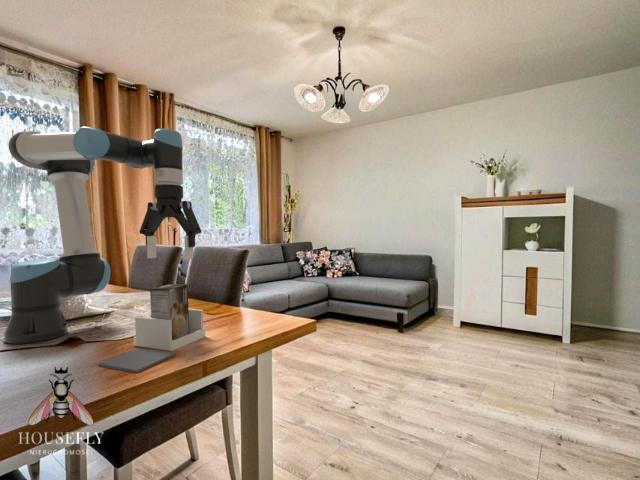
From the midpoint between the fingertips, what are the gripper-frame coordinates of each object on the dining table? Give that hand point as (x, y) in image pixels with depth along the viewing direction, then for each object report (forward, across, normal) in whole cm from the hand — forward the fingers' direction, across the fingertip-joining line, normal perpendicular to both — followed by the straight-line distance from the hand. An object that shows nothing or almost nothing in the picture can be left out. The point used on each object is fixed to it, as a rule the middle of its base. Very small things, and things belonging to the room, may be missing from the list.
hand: (170, 258), depth 102 cm
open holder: (+24, 0, 0) cm, 24 cm away
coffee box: (+24, 0, 0) cm, 24 cm away
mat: (+24, +4, -15) cm, 29 cm away
